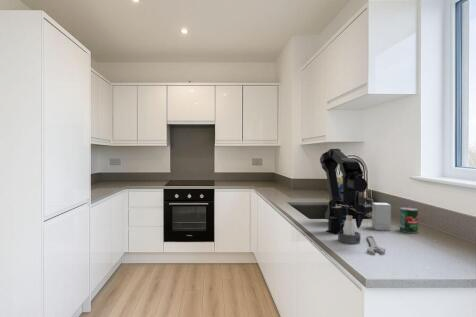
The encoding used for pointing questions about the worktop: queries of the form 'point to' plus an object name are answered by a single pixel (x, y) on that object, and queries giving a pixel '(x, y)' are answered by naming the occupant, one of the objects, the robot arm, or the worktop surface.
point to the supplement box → (381, 216)
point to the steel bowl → (349, 238)
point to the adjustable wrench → (374, 246)
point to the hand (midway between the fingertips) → (349, 225)
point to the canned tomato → (408, 220)
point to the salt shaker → (349, 226)
